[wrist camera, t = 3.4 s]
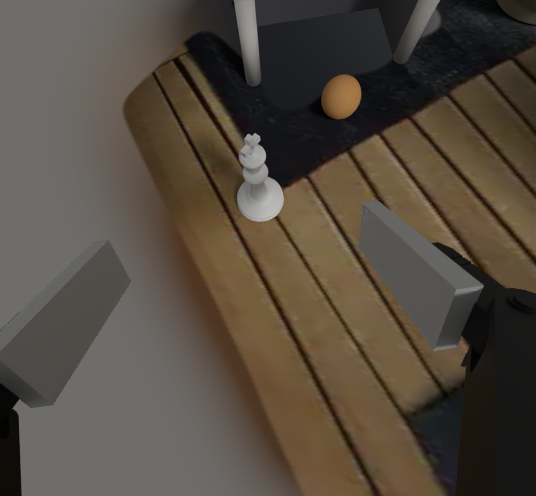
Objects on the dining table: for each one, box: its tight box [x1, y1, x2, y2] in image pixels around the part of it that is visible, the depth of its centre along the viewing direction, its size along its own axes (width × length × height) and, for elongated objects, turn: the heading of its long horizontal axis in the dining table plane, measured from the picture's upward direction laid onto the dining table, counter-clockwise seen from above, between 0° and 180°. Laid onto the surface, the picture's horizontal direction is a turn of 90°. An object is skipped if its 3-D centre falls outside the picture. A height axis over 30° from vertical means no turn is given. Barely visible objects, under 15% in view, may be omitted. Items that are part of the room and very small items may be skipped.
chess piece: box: [237, 133, 284, 222], centre depth 21 cm, size 5×5×10 cm
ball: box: [321, 75, 361, 119], centre depth 26 cm, size 4×4×4 cm
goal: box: [234, 0, 440, 86], centre depth 26 cm, size 10×19×8 cm, turn 98°
